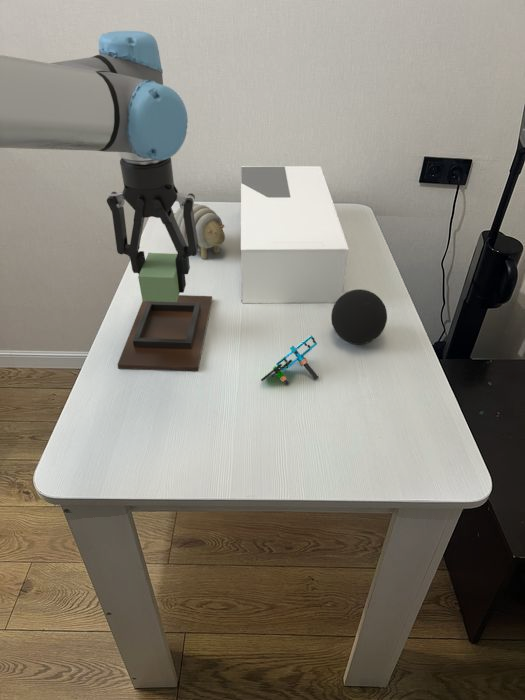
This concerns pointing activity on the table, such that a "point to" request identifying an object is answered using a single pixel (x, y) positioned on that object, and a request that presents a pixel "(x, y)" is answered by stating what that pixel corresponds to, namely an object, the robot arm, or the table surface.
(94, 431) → the table surface
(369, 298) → the speaker
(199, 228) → the toy sheep
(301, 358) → the stick construction toy
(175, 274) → the green rectangular block
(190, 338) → the back board
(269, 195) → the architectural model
